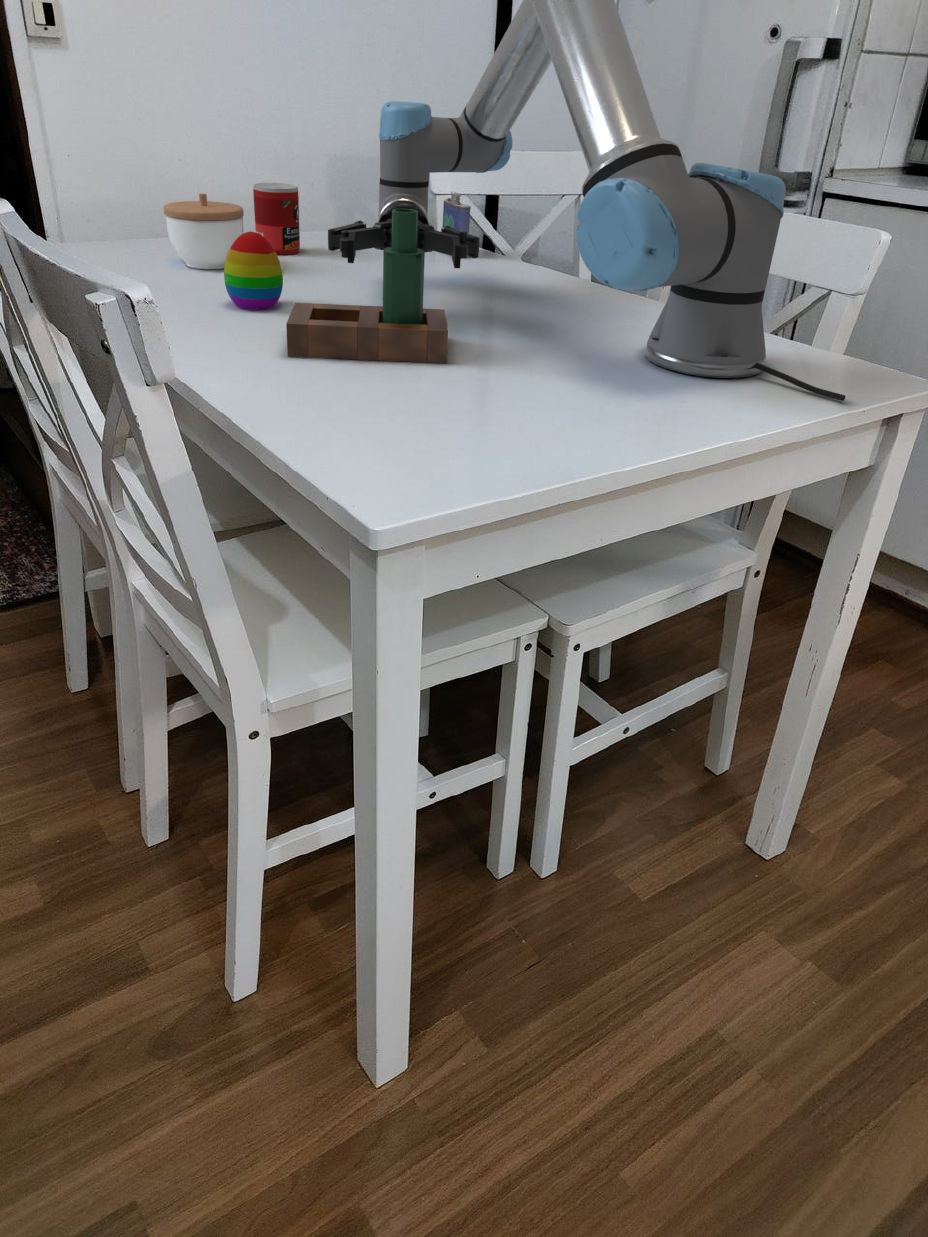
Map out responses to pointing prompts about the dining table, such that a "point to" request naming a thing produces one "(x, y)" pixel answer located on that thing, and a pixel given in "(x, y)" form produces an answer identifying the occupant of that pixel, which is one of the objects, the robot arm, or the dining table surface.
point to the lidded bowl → (203, 230)
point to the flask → (456, 213)
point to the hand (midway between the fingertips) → (404, 254)
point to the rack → (364, 334)
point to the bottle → (403, 271)
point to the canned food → (278, 216)
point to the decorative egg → (253, 273)
